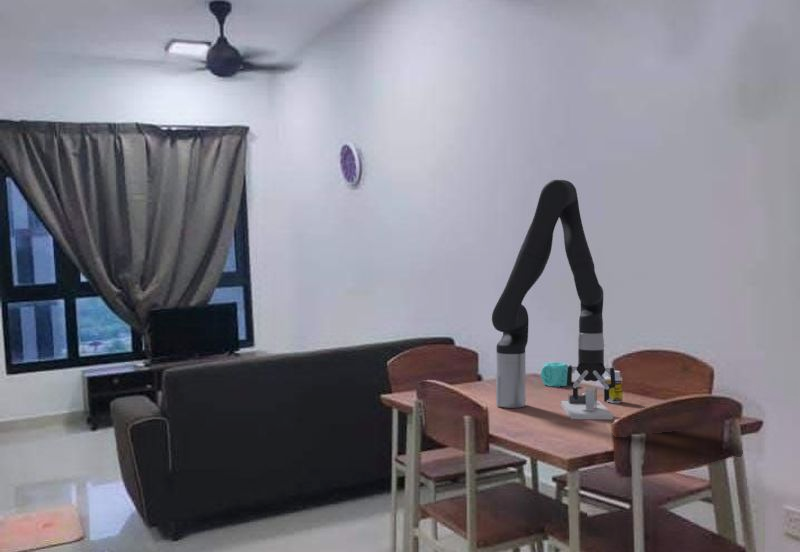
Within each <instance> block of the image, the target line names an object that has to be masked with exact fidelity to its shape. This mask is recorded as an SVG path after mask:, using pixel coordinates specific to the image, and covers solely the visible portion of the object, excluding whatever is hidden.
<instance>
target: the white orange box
mask: <svg viewBox="0 0 800 552" xmlns="http://www.w3.org/2000/svg"><path fill="white" fill-rule="evenodd" d="M597 391H598V388H597V386H587V388H586V389H585V394H586V411H594V410H595V409H596V408H597V401H598V399H597V398H598V393H597Z"/></svg>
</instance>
